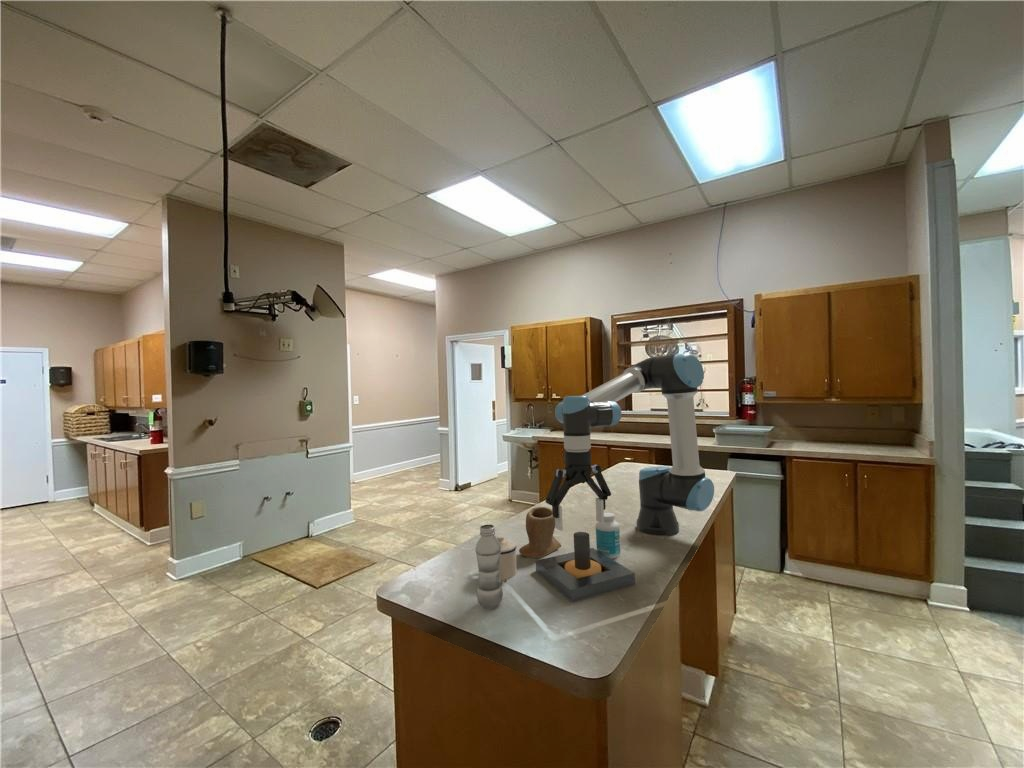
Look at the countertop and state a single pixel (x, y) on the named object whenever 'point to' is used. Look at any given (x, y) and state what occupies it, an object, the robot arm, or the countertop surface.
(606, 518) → the pill bottle
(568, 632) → the countertop surface
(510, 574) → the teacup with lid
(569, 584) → the grey square socket block
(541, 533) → the stone cup
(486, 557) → the plastic bottle
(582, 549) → the peg on round base
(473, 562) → the countertop surface
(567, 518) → the countertop surface
